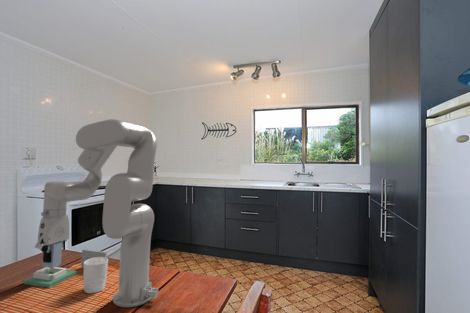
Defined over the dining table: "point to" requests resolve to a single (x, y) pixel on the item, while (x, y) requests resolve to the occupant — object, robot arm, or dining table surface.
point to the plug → (54, 256)
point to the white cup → (95, 274)
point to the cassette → (91, 255)
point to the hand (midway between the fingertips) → (52, 259)
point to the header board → (49, 276)
